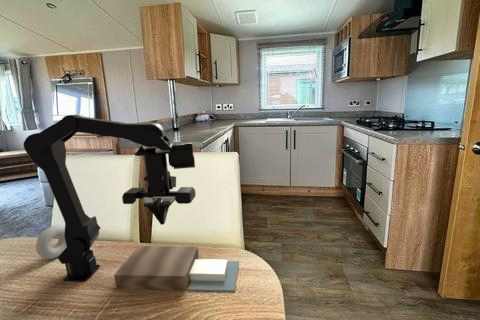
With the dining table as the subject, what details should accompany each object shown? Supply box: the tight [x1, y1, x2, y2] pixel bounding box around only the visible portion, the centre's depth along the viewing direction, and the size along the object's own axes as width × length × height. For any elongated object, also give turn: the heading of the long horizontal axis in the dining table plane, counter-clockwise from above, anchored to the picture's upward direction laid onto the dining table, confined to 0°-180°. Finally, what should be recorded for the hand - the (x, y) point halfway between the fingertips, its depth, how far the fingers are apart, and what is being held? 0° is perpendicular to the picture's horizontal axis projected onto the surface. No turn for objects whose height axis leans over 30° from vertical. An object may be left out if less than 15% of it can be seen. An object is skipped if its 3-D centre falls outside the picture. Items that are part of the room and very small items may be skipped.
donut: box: [35, 224, 66, 260], centre depth 79 cm, size 10×4×10 cm, turn 162°
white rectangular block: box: [189, 258, 228, 281], centre depth 68 cm, size 9×6×2 cm, turn 85°
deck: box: [113, 245, 200, 291], centre depth 70 cm, size 18×13×4 cm
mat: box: [187, 260, 240, 293], centre depth 68 cm, size 12×12×1 cm
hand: (162, 223), depth 72 cm, fingers closed
